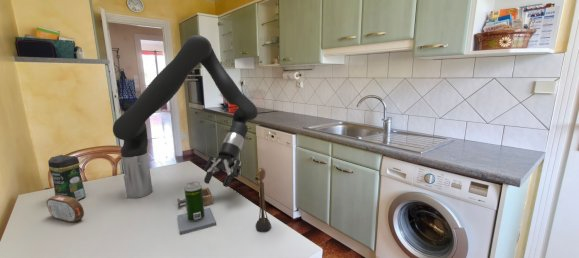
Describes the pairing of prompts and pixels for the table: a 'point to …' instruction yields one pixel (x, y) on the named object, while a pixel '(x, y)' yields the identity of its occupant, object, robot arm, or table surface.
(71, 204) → the tin
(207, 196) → the light wood square frame
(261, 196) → the wooden tabletop sculpture
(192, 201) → the beer can
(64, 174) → the coffee jar
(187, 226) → the slate mat
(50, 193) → the table surface
